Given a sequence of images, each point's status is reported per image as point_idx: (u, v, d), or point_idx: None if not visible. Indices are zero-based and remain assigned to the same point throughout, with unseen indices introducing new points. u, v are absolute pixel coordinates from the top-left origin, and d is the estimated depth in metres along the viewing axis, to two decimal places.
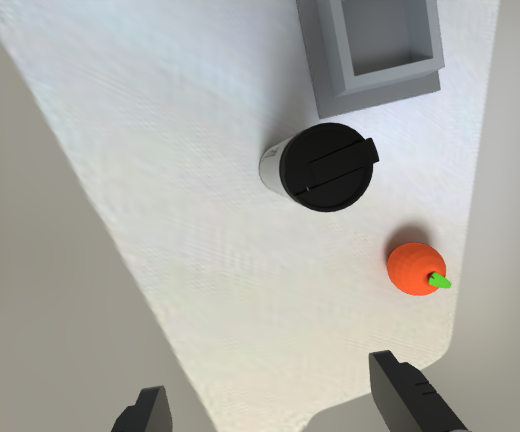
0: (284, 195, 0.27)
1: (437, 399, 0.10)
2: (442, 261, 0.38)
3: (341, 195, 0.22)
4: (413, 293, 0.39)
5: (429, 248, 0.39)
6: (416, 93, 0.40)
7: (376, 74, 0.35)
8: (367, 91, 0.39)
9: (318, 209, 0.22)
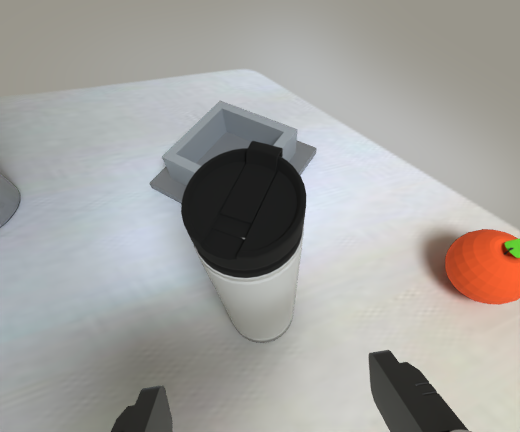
0: (251, 296, 0.18)
1: (437, 399, 0.10)
2: (494, 230, 0.28)
3: (287, 209, 0.15)
4: None
5: (467, 234, 0.29)
6: (303, 163, 0.40)
7: None
8: None
9: (276, 243, 0.14)
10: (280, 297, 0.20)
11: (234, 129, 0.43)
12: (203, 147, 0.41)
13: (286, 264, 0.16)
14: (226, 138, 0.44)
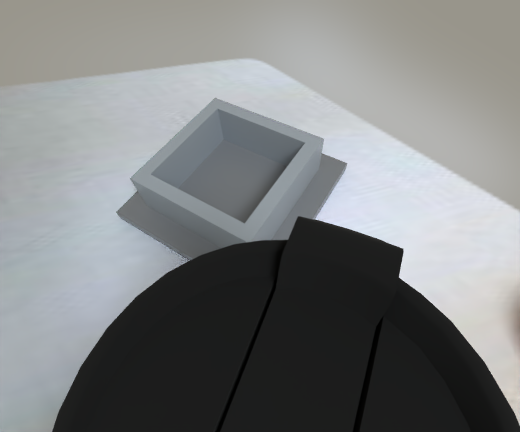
0: None
1: None
2: None
3: None
4: None
5: None
6: (330, 184, 0.29)
7: (267, 200, 0.24)
8: (281, 227, 0.27)
9: None
10: None
11: (235, 137, 0.32)
12: (192, 162, 0.30)
13: None
14: (223, 149, 0.32)
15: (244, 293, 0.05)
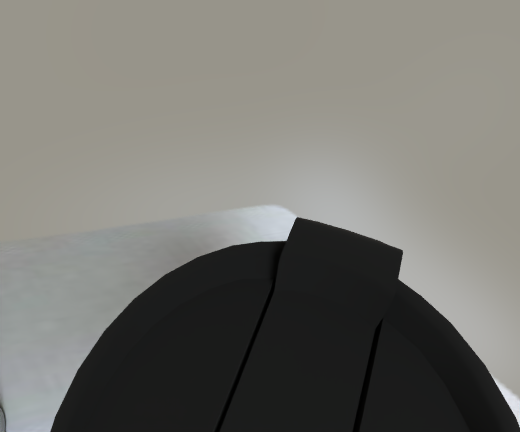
0: None
1: None
2: None
3: None
4: None
5: None
6: None
7: None
8: None
9: None
10: None
11: None
12: None
13: None
14: None
15: (243, 295, 0.05)
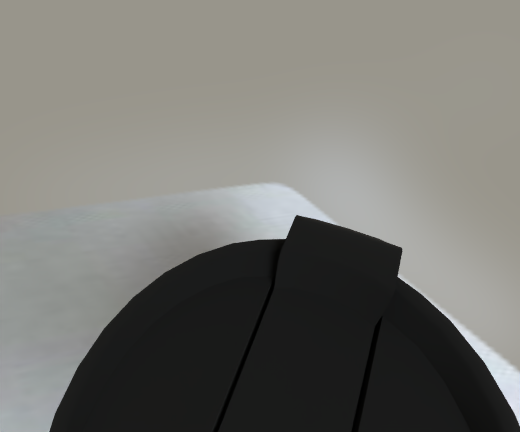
0: None
1: None
2: None
3: None
4: None
5: None
6: None
7: None
8: None
9: None
10: None
11: None
12: None
13: None
14: None
15: (242, 293, 0.05)
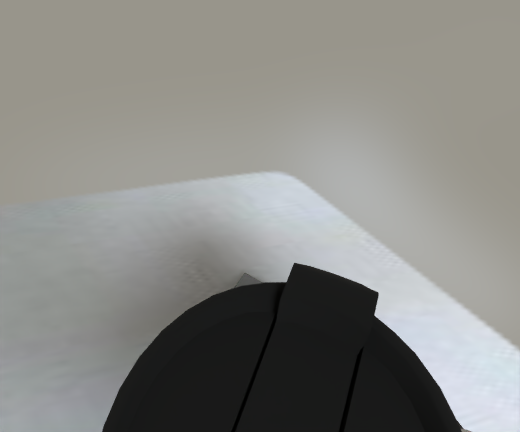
0: None
1: None
2: None
3: None
4: None
5: None
6: None
7: None
8: None
9: None
10: None
11: None
12: None
13: None
14: None
15: (250, 326, 0.06)
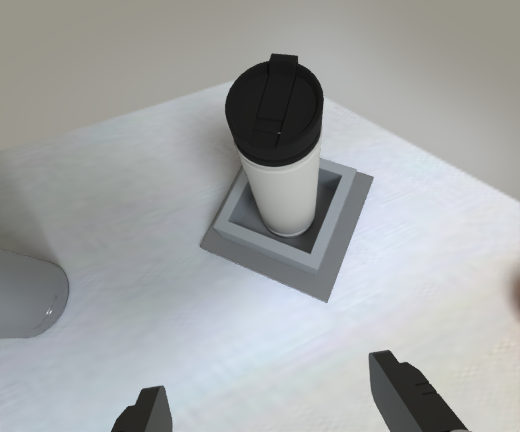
0: (287, 185, 0.23)
1: (437, 399, 0.10)
2: None
3: (309, 105, 0.19)
4: None
5: None
6: (363, 199, 0.36)
7: (322, 232, 0.32)
8: (331, 242, 0.35)
9: (305, 131, 0.18)
10: (307, 186, 0.25)
11: None
12: (249, 196, 0.37)
13: (312, 152, 0.21)
14: None
15: (261, 78, 0.20)
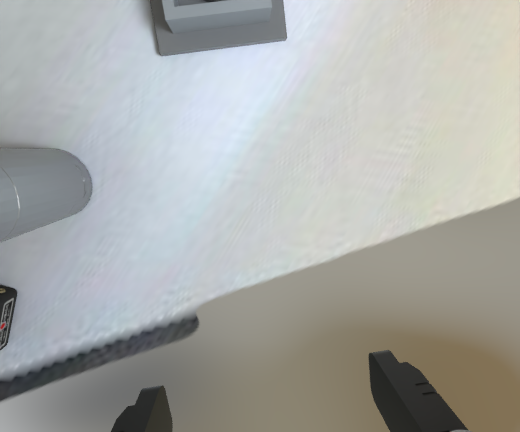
0: None
1: (437, 399, 0.10)
2: None
3: None
4: None
5: None
6: None
7: None
8: None
9: None
10: None
11: None
12: None
13: None
14: None
15: None
